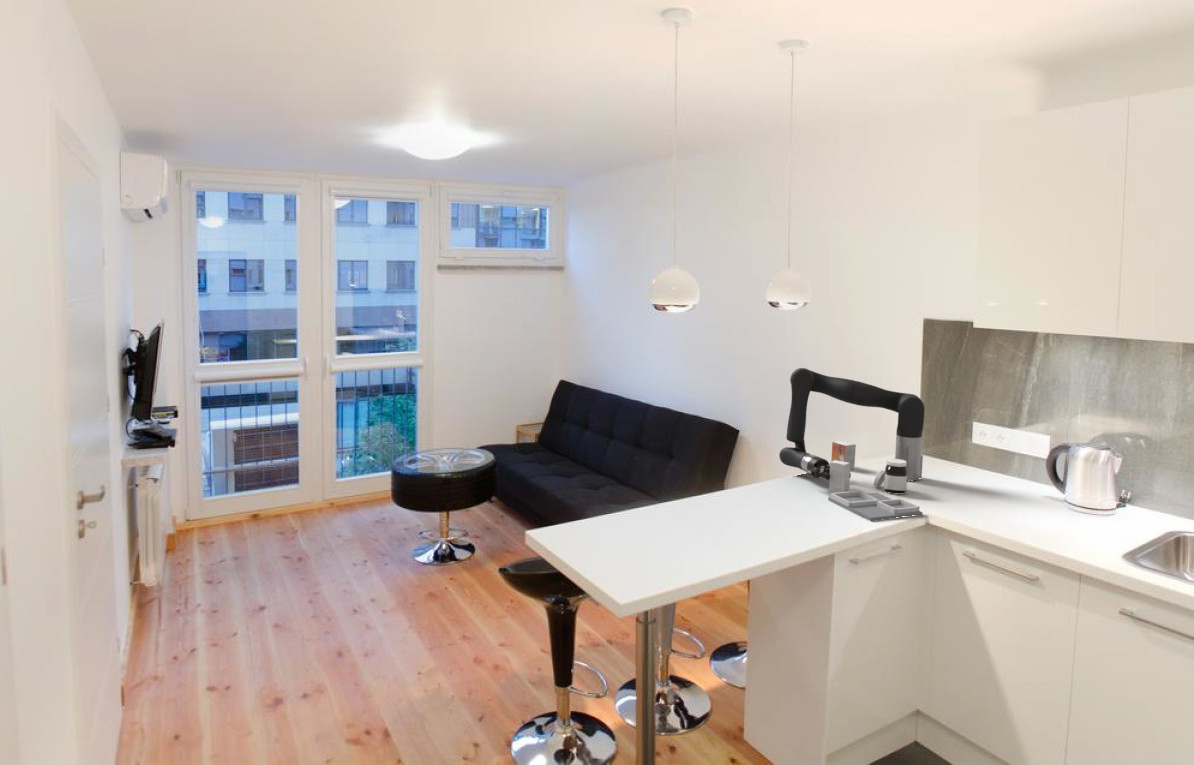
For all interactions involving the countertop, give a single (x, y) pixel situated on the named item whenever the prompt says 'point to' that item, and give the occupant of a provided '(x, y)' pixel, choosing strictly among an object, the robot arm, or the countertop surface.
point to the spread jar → (893, 476)
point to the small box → (843, 452)
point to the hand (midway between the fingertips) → (839, 476)
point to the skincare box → (839, 477)
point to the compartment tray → (874, 505)
